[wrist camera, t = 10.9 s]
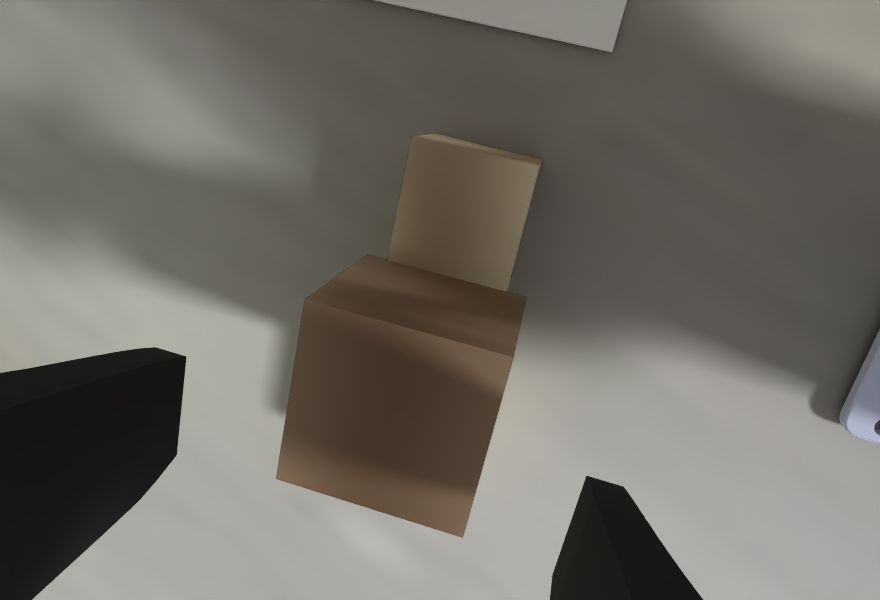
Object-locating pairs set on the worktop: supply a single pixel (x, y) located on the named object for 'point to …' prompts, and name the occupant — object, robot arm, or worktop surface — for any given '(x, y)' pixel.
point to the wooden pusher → (415, 343)
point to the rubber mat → (536, 17)
